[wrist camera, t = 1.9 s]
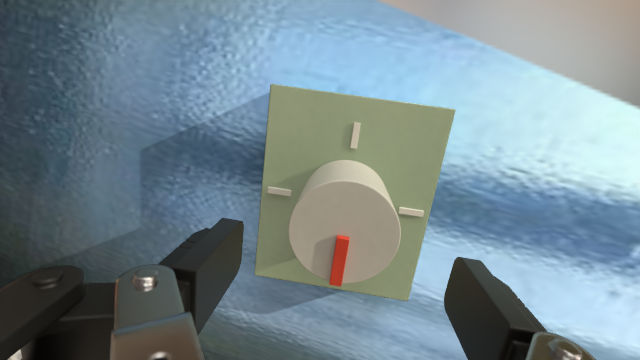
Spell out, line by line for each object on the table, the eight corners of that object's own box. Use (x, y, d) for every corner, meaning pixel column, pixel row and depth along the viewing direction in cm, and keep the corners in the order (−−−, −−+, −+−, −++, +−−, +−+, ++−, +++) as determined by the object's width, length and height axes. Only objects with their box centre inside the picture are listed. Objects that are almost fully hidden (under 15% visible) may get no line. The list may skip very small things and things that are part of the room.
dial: (307, 153, 17) (293, 173, 12) (395, 166, 17) (413, 192, 12) (297, 233, 18) (281, 277, 14) (379, 246, 18) (389, 296, 14)
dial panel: (282, 86, 19) (269, 83, 16) (439, 107, 19) (457, 109, 16) (266, 252, 22) (253, 276, 19) (400, 275, 22) (408, 303, 19)
